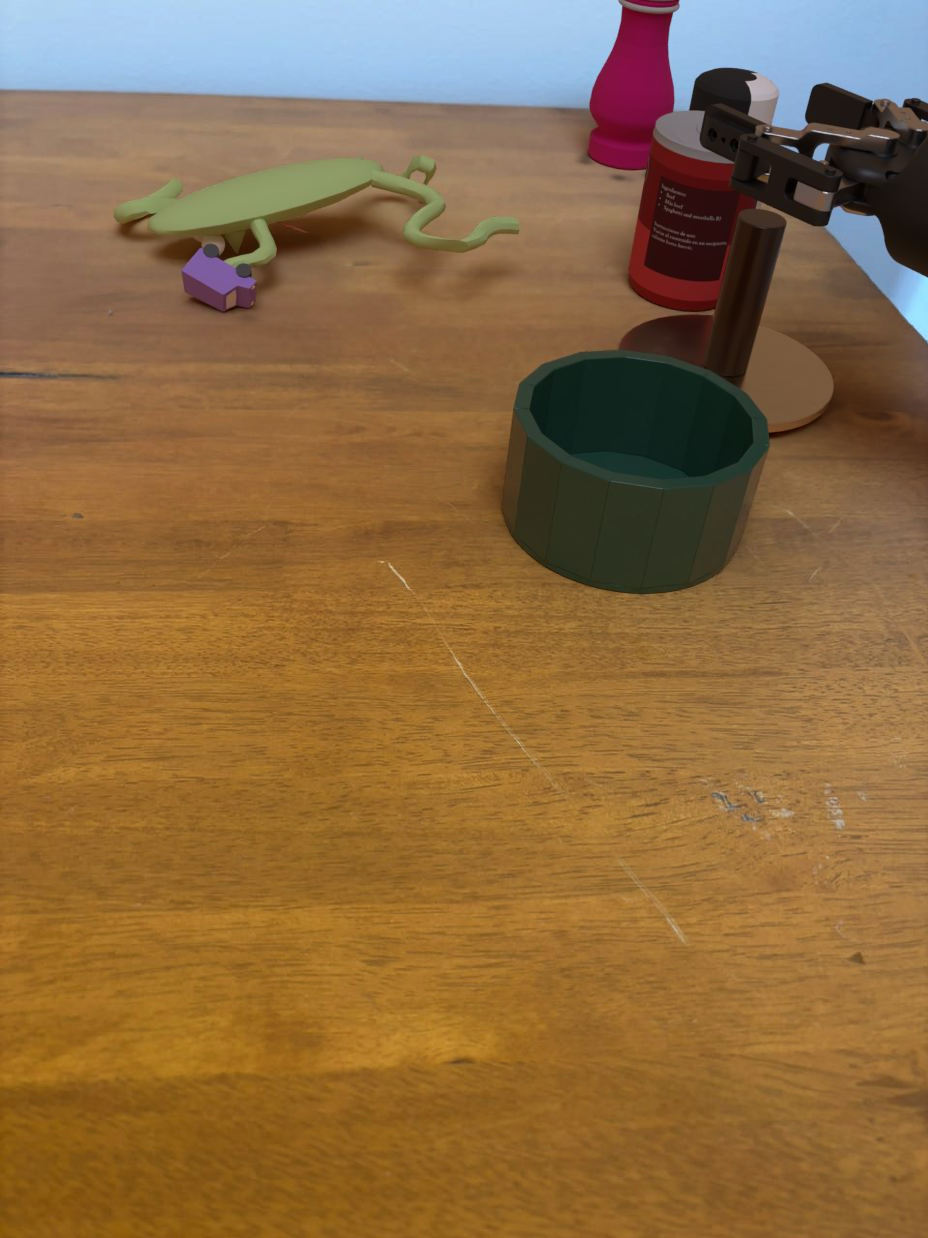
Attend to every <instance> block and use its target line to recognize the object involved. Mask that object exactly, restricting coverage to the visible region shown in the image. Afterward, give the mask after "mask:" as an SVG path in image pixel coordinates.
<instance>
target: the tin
mask: <svg viewBox="0 0 928 1238" xmlns="http://www.w3.org/2000/svg"><path fill="white" fill-rule="evenodd" d="M770 447H771V445H770V433H769V432H768V421H767V418H766V417H765V415H764V414H763V413H762V412H761V410H760V409H759V408H758V407H757V405H756V404H755V403H754V402H753V400H752V399H751V398H750V397H749V395H748V394H747V393H745V392H744V391H742V390H741V389H739V388H738V387H736V386H734V385H733V384H731V383H730V382H728V381H726V380H725V379H723V378H722V377H720V376H719V375H717V374H715V373H714V372H712V371H710V370H707V369H704V368H702V367H699V366H696V365H693V364H690V363H687V362H684V361H681V360H678V359H675V358H673V357H669V356H663V355H656V354H649V353H642V352H635V351H628V350H617V349H607V350H591V351H590V350H589V351H579V352H575V353H572V354H569V355H565V356H563V357H559V358H557V359H553V360H550V361H546V362H544V363H542V364H540V365H539V366H537V368H535V369H534V370H533V371H531V373H530V374H528V375H527V376H526V377H525V378H524V379H523V380H521V381H520V382H519V383H518V387H517V391H516V395H515V399H514V403H513V408H512V415H511V424H510V433H509V441H508V449H507V456H506V457H507V458H506V465H505V475H504V482H503V491H502V498H501V507H502V511H503V512H502V513H503V518H504V521H505V524H506V527H507V529H508V531H509V533H510V535H511V536H512V537H513V539H514V540H515V541H516V542H517V544H518V545H519V547H520V548H522V549H523V550H524V552H526V554H528V555H529V556H530V557H531V558H532V559H534V560H535V561H537V562H538V563H539V564H540V565H542V566H544V567H546V568H547V569H549V570H551V571H552V572H555V573H557V574H558V575H561V576H562V577H564V578H567V579H570V580H572V581H574V582H577V583H579V584H584V585H587V586H589V587H594V588H596V589H602V590H607V591H608V590H609V591H613V592H619V593H627V594H660V593H667V592H668V593H669V592H675V591H680V590H684V589H687V588H691V587H694V586H696V585H699V584H701V583H704V582H706V581H707V580H709V579H711V578H713V577H714V576H716V575H717V574H719V573H720V572H721V571H722V570H723V569H724V568H726V566H727V565H728V564H729V563H730V561H732V558H733V557H734V555H735V553H736V550H737V548H738V547H739V546H740V544H741V542H742V539H743V536H744V532H745V530H746V526H747V522H748V519H749V516H750V513H751V509H752V506H753V503H754V499H755V496H756V493H757V490H758V486H759V483H760V480H761V476H762V473H763V469H764V467H765V463H766V460H767V457H768V453H769V450H770Z"/></svg>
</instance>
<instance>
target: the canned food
mask: <svg viewBox="0 0 928 1238" xmlns="http://www.w3.org/2000/svg"><path fill="white" fill-rule="evenodd" d="M704 113H705V111H689V110H679V111H673V113H669V114H666V115H663V116H662V117H660V118H659V119H658V120H657V121H656V125H655V128H654V131H653V136H652V142H651V146H650V151H649V156H648V162H647V168H645V169H646V170H645V173H644V180H643V185H642V190H641V196H640V202H639V207H638V213H637V219H636V224H635V230H634V235H633V240H632V245H631V246H632V247H631V252H630V257H629V264H628V277H629V283H630V285H631V287H632V288H633V290H634V291H635V292H636V293H637V294H638V295H640V296H641V297H642V298H643V299H646V300H647V301H649V302H651V303H653V304H656V305H658V306H660V307H665V308H669V309H673V310H680V311H687V312H688V311H689V312H700V311H706V310H708V311H709V310H712V309H715V308H716V304H717V299H718V295H719V291H720V287H721V283H722V279H723V275H724V271H725V266H726V262H727V258H728V254H729V250H730V246H731V242H732V237H733V233H734V229H735V225H736V221H737V217H738V214H739V213H740V212H741V211H743V210H746V209H754V208H755V204H756V200H755V199H753V198H751V197H749V196H747V195H744V194H742V193H740V192H738V191H736V190H734V189H732V188H730V187H729V183H730V178H731V175H732V172H733V168H734V162H732V161H730V160H728V159H726V158H724V157H722V156H720V155H718V154H715V153H713V152H711V151H709V150H707V149H705V148H703V147H702V145H701V144H700V132H701V127H702V123H703V118H704Z"/></svg>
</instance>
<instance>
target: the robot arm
mask: <svg viewBox="0 0 928 1238" xmlns="http://www.w3.org/2000/svg"><path fill="white" fill-rule="evenodd" d="M804 119H805V122H806V124H807V125H805V126H804V128H802V129H800V130H799V129H792V128H787V127H781V126H775V125H773V124H772V125H769V124H766V123H764V122H762V121H760V120H757V119H755V118H753V117H751V116H749V115H746V114H744V113H742V112H740V111H737V110H735V109H733V108H731V107H728V106H726V105H724V104H721V103H719V104H714V105H710V106H708V107H707V108H706V110H705V113H704V118H703V123H702V127H701V132H700V144H701V145H702V147H703V148H705V149H707V150H709V151H711V152H713V153H715V154H718V155H720V156H722V157H724V158H726V159H728V160H730V161H732V162H734V168H733V172H732V175H731V178H730V183H729V187H730V188H732V189H734V190H736V191H738V192H740V193H742V194H744V195H747V196H749V197H751V198H753V199H755V200H757V201H760V202H762V204H764V205H766V206H768V207H770V208H773V209H774V210H778V211H779V212H780V213H781V212H782V213H783V214H785V215H788V216H790V217H792V218H794V219H797V220H799V221H801V222H803V223H806V224H807V225H810V226H812V227H818V228H819V227H820V228H821V227H822V228H823V227H826V226H828V225H829V223H830V220H831V216H832V214H833V213H832V212H833V210H834V209H835V208H838V207H839V208H841V209H842V211H843V212H845V213H847V214H850V215H851V214H852V215H856V216H862V217H873V216H874V217H876V218H877V219H878V223H879V224H880V227H881V229H882V230H881V231H882V234H883V242H884V246H885V249H886V250H887V253H888V255H889V256H890V258H891V259H892V260H893V261H894V262H895V263H897V264H900V265H901V266H903V267H905V268H907V269H909V270H911V271H913V272H915V273H917V274H919V275H922V276H923V277H926V278H927V279H928V102H927V101H924V100H922V99H920V98H919V97H918V98H917V97H912V98H905V99H904V100H903V103H902V106H899V105H898V104H897V103H896V102H894V101H893V100H891V99H889V98H880V99H879V98H878V99H874V100H872V99H869V98H867V97H864V96H862V95H860V94H857V93H854V92H852V91H850V90H847V89H845V88H842V87H839V86H837V85H836V84H832V83H830V82H822V83H817V84H815V85H814V86H812V88H811V91H810V94H809V97H808V101H807V105H806V110H805V113H804ZM825 144H827V145H828V147H827V149H826V153H825V155H824V159H820V160H817V159H815V158H814V154H815V151H816V149H817V148H818V147H819V146H821V145H825ZM788 147H789V148H788ZM790 148H794V149H796V150H797V151H795V150H792V149H790Z"/></svg>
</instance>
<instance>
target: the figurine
mask: <svg viewBox="0 0 928 1238" xmlns="http://www.w3.org/2000/svg"><path fill="white" fill-rule="evenodd" d="M437 169H438V168H437V163H436V160H435V159H434V158H431V157H429V156H426V155H424V154H418V155H416V156H413V157H412V159H411V160H410V162H409V164H408V166H407V168H406V170H405V171H403V172H402V173H401V174H400V175H398V174H393V173H390V172H388V171H386V170H385V169H383V165H381V164H380V163H379V162H377V161H376V160H373V159H366V158H362V157H361V156H356V157H339V158H321V159H314V160H313V159H312V160H307V161H303V162H296V163H291V164H284V165H278V166H274V167H271V168H267V169H262V170H259V171H254V172H251V173H247V174H244V175H240V176H235V177H233V178H230V179H229V178H228V179H227V180H223V181H221V182H218V183H215V184H212V185H209V186H207V187H203V188H201V189H198V190H196V191H194V192H191V193H189V194H187V195H185V196H182V197H181V198H178V197H179V196H180V195H181V194H182V193H183V192H184V185H183V183H182V180H181V179H180V178H178V177H173V178H172V179H171V180H169V182H168V183H167V184H165V185H163V186H162V187H160V188H159V189H158V190H156V191H154V192H152V193H150V194H149V195H147V196H144V197H143V198H138V199H131V200H128V201H126V202H124V203H121V204H118V205H116V206H115V208H113V215H112V216H113V219H114V220H115V222H116V223H119V224H121V225H122V224H124V225H125V224H127V223H130V222H133V221H136V220H139V219H142V218H144V217H146V216H148V215H151V214H152V216H150V217H149V220H148V224H147V227H146V229H147V230H149V231H150V232H151V233H154V234H155V235H157V236H159V237H160V236H161V237H173V238H193V239H194V240H195V241H196V242H199V243H201V244H200V245H201V247H200V248H199V249H198V250H197V251H196V252H195V254H194V255H193V256H192V257H191V258H190V260H188V262H187V263H186V264H185V265H184V266H183V268H182V269H181V278H182V283H183V284H182V285H183V291H184V293H185V294H187V295H190V296H192V297H193V298H196V299H198V300H199V301H201V302H203V303H205V304H207V305H210V306H211V307H212V308H215V309H217V310H218V311H221V312H226V311H228V310H230V309H232V308H234V307H236V306H238V307H242V308H246V309H250V308H251V307H253V306H254V304H255V303H256V302H257V284H258V281H257V280H256V279H254V278H253V271H252V268H255V267H259V266H264V265H267V264H268V263H269V262H271V261H272V260H274V259H275V257H276V256H277V252H278V251H277V250H278V249H277V245H276V242H275V240H274V237H273V236H272V233H271V230H270V228H269V225H272V224H277V225H281V226H284V227H288V228H290V229H292V230H295V231H297V232H302V233H307V234H310V232H309V231H307V230H304V229H302V228H299V227H298V226H294V225H292V224H291V225H290V224H288V223H285V222H284V221H286V220H287V221H288V220H293V219H299V218H300V217H302V216H304V215H306V214H309V213H312V212H315V211H319V210H321V209H323V208H326V207H329V206H332V205H334V204H336V203H340V202H341V201H343V200H346V199H347V198H350V197H351V196H353V195H355V194H357V193H359V192H361V191H363V190H365V189H367V188H369V187H370V186H371V188H375V189H378V190H381V191H386V192H391V193H394V194H397V195H402V196H405V197H408V198H411V199H413V200H417V201H419V202H421V203H422V204H424V205H425V204H426V205H425V206H423V207H421V208H419V210H417V211H416V212H415V213H413V214H412V215H411V216H410V217H409V218H408V220H407V221H406V222H405V224H404V225H403V229H402V233H403V236H402V237H403V239H404V241H405V242H406V243H407V244H409V245H411V246H413V247H415V248H417V249H421V250H429V251H436V252H447V253H448V252H449V253H450V252H451V253H456V254H457V253H458V254H464V253H468V252H470V251H474V250H476V249H479V248H480V247H482V246H484V245H485V244H486V243H487V242H488V240H489V239H490V238H492V237H494V236H496V235H503V234H504V235H519V233H520V231H521V230H520V222H519V219H518V217H516V216H492V217H488V218H485V219H483V220H482V221H480V222H479V223H478V224H476V225H475V227H474V228H473V230H472V231H471V232H470V233H469V234H468V235H467V236H465V237H463V238H460V239H455V238H447V237H439V236H434V235H430V234H425V233H423V232H422V230H423V229H424V228H425V227H427V226H428V225H429V224H430V223H432V222H433V221H435V220H436V219H438V218H439V217H440V216H442V214H443V213H444V212H445V210H446V209H447V205H446V201H445V199H444V197H443V195H442V194H441V193H440V191H438V190H436V189H435V188H434V187H431V186H429V185H428V184H429V183H430V181H431V180H432V179H433V178H434V176H435V173H436V171H437ZM416 171H418V172H420V173H423V174H424V175H425V178H424V180H423V182H419V181H416V180H413V179H411V175H412V174H413V173H414V172H416ZM247 230H251V233H252V235H253V236H254V238H255V240H256V241H257V243H258V245H259V247H258V248H257V249H255V250H254V251H252V252H250V253H246V254H241V255H238V254H239V252H240V249H241V246H242V243H243V240H244V237H245V234H246V231H247ZM222 235H224V237H225V239H226V241H227V242H228V244H229V245H230V247H231V248H232V250H233V251H234V253H235V254H236V256H233V257H230V258H226V259H225V260H223V259H221V258H220V256H221V255H222V253H223V252H224V251H225V248H226V241H225V239H224V238H223V236H222Z"/></svg>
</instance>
